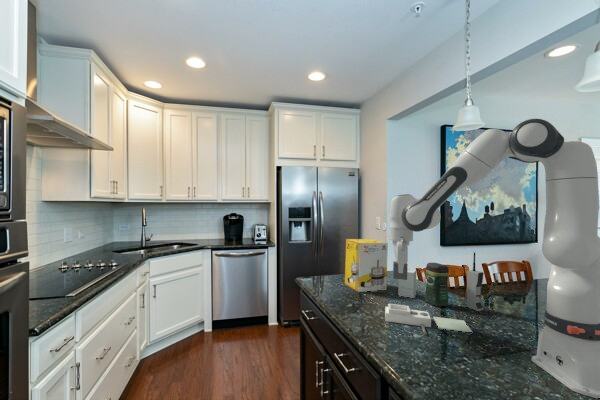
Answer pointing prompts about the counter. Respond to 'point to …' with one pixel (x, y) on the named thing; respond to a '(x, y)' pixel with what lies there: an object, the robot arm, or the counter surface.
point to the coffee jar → (437, 284)
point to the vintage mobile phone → (474, 288)
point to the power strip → (407, 316)
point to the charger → (396, 274)
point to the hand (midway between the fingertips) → (400, 271)
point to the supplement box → (408, 285)
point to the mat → (452, 324)
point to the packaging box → (366, 264)
